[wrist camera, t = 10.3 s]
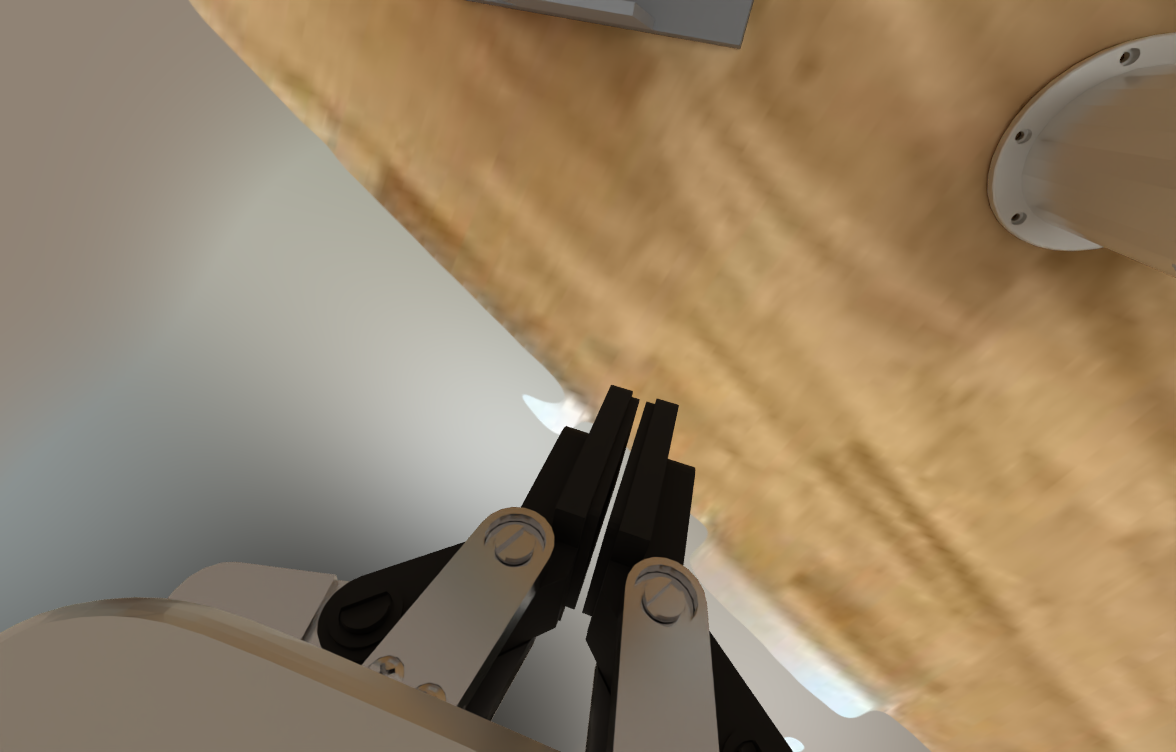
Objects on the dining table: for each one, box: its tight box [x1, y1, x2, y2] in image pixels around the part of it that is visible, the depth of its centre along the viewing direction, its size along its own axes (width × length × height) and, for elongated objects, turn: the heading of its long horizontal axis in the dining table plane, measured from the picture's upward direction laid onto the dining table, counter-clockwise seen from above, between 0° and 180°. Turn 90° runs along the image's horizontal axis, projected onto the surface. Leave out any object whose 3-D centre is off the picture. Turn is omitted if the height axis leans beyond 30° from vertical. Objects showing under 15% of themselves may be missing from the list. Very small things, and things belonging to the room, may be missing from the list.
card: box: [503, 0, 655, 30], centre depth 29 cm, size 10×1×7 cm, turn 81°
